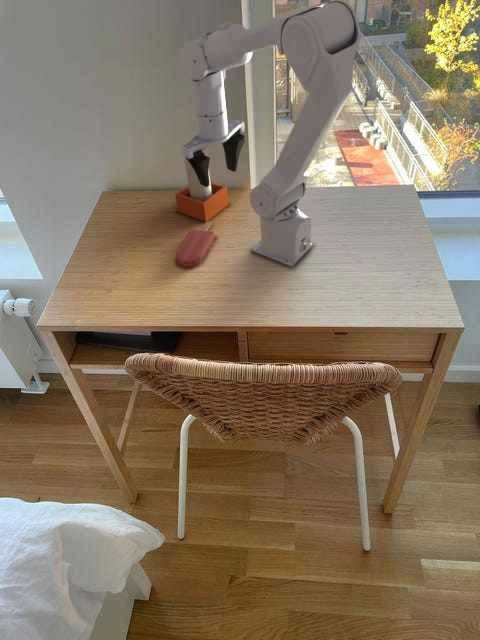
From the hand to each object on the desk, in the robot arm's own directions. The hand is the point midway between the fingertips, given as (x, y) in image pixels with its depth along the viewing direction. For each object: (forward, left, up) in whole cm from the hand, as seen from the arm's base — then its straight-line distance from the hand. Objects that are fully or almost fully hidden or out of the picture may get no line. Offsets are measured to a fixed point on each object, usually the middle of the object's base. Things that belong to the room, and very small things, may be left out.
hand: (218, 177), depth 100 cm
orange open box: (+7, -2, -10) cm, 13 cm away
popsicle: (-1, +10, -11) cm, 15 cm away
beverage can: (+7, -2, -10) cm, 12 cm away
